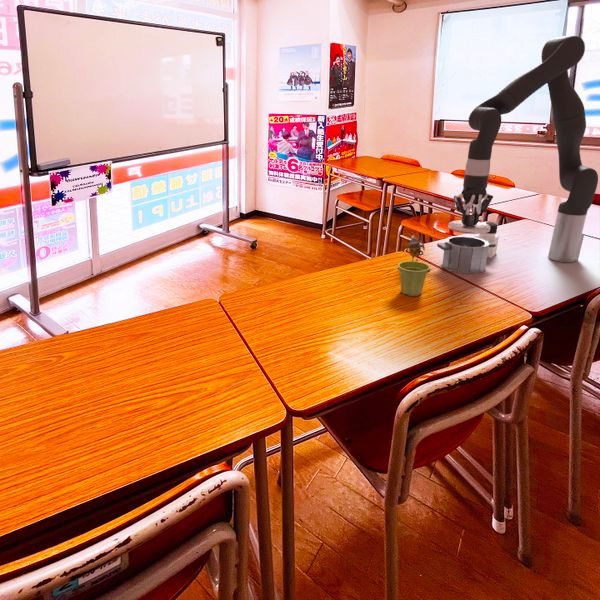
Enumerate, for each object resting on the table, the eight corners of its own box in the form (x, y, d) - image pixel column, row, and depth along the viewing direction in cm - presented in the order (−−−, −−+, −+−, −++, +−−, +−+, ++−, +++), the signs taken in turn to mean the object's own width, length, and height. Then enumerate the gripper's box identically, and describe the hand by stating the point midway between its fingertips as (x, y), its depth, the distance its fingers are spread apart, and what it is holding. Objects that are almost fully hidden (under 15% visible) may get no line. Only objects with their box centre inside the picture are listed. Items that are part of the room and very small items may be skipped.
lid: (476, 222, 180) (478, 208, 178) (498, 232, 167) (500, 217, 165) (441, 224, 177) (442, 210, 175) (461, 234, 165) (463, 219, 163)
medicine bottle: (496, 253, 192) (501, 222, 187) (491, 258, 186) (496, 226, 181) (477, 249, 195) (481, 219, 190) (472, 254, 190) (476, 223, 185)
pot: (477, 258, 186) (480, 234, 182) (499, 271, 173) (504, 246, 170) (428, 261, 182) (431, 237, 178) (448, 275, 169) (451, 249, 166)
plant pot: (392, 287, 159) (394, 261, 156) (421, 286, 160) (424, 260, 157) (400, 298, 151) (402, 271, 147) (430, 298, 152) (434, 270, 148)
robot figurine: (431, 266, 177) (435, 233, 173) (430, 275, 169) (434, 241, 164) (399, 263, 180) (402, 230, 175) (397, 272, 172) (400, 238, 167)
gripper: (489, 170, 169) (481, 220, 176) (451, 171, 167) (445, 223, 173) (502, 174, 163) (494, 226, 170) (463, 175, 160) (456, 228, 167)
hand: (469, 224), depth 172 cm, fingers closed on lid, 3 cm apart
